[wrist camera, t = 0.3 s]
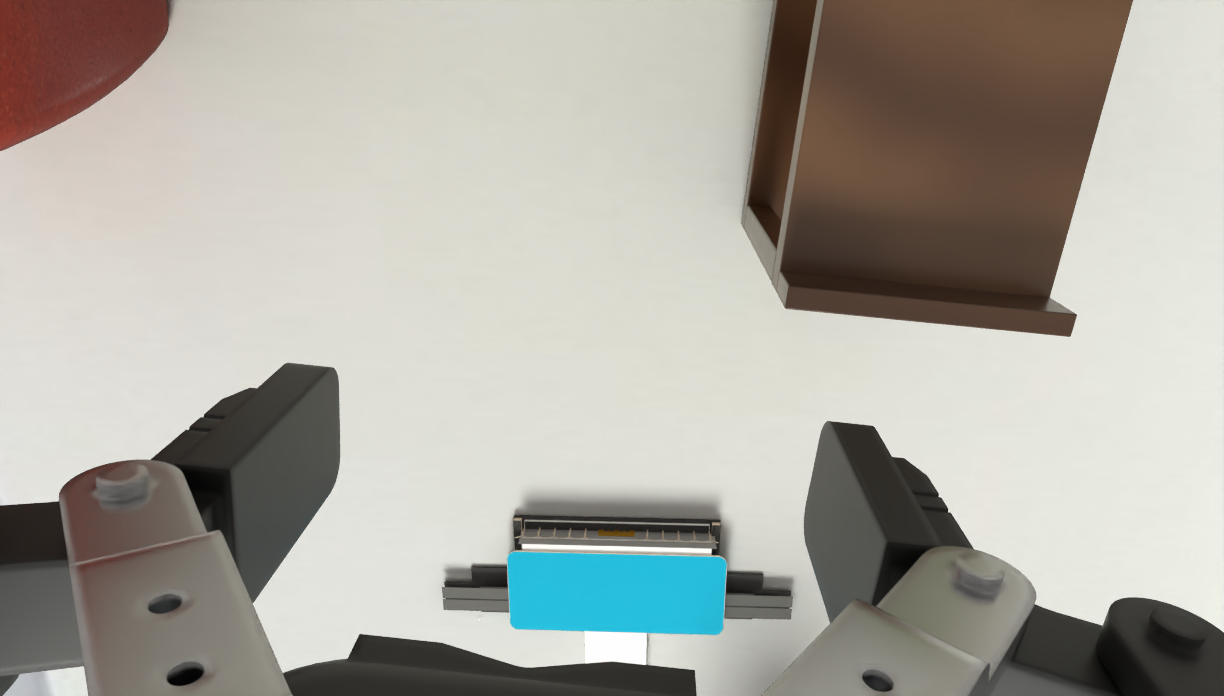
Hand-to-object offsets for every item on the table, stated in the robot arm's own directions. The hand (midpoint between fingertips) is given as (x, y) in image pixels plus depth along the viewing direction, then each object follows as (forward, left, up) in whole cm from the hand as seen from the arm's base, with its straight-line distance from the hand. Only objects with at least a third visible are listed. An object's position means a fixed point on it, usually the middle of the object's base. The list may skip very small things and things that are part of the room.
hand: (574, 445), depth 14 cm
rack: (-6, +11, -28) cm, 31 cm away
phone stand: (+24, +2, -29) cm, 38 cm away
